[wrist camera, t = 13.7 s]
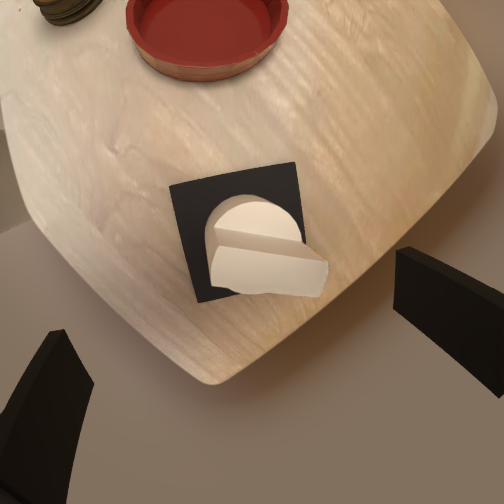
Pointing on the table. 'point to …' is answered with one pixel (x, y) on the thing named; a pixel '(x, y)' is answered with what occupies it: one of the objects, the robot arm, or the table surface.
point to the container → (65, 10)
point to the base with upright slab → (261, 250)
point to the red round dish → (205, 35)
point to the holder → (216, 191)
